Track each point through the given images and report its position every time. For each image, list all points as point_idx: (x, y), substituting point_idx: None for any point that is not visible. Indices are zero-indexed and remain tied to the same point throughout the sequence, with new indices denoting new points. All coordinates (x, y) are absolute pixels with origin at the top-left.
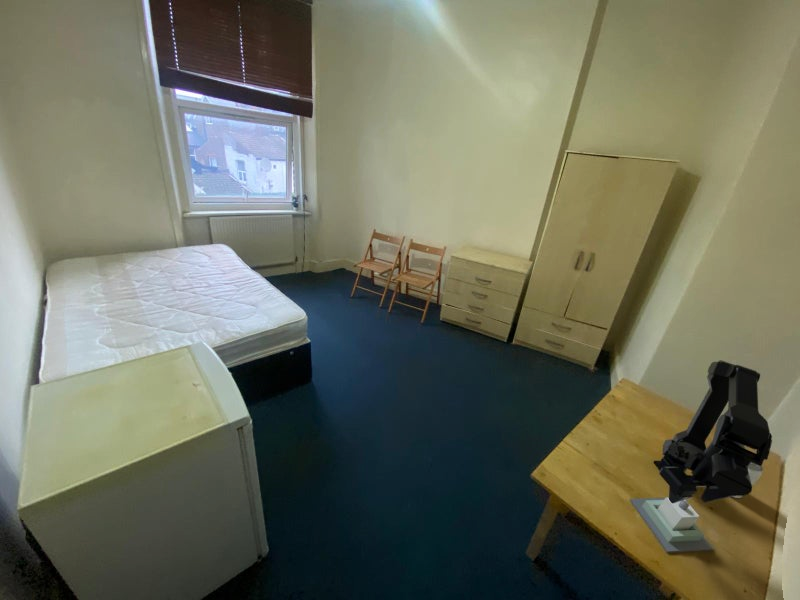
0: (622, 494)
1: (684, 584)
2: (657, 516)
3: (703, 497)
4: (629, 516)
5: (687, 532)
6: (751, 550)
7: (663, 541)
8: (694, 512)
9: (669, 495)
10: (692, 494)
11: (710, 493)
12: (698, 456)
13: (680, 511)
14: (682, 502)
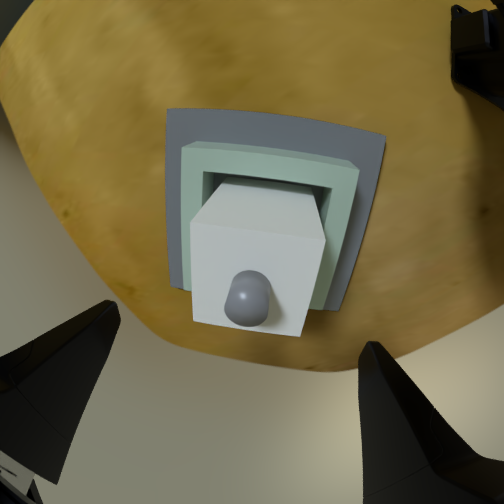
0: (160, 83)
1: (168, 333)
2: (181, 220)
3: (368, 365)
4: (126, 170)
5: None
6: (440, 319)
7: (178, 264)
8: (295, 319)
9: (76, 319)
10: (35, 492)
11: (382, 428)
12: None
13: (212, 301)
14: (231, 304)
